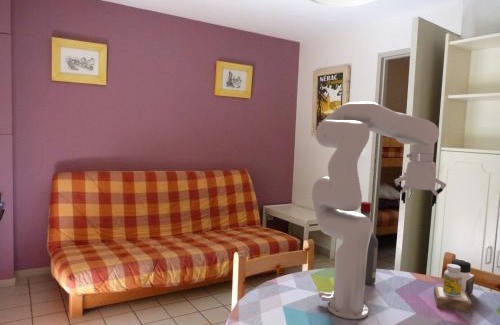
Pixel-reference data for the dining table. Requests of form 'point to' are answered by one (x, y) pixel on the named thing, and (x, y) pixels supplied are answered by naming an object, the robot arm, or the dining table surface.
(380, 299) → the dining table surface
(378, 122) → the robot arm
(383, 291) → the dining table surface
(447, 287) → the supplement bottle
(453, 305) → the coaster block
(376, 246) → the liquor
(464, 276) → the medicine bottle
